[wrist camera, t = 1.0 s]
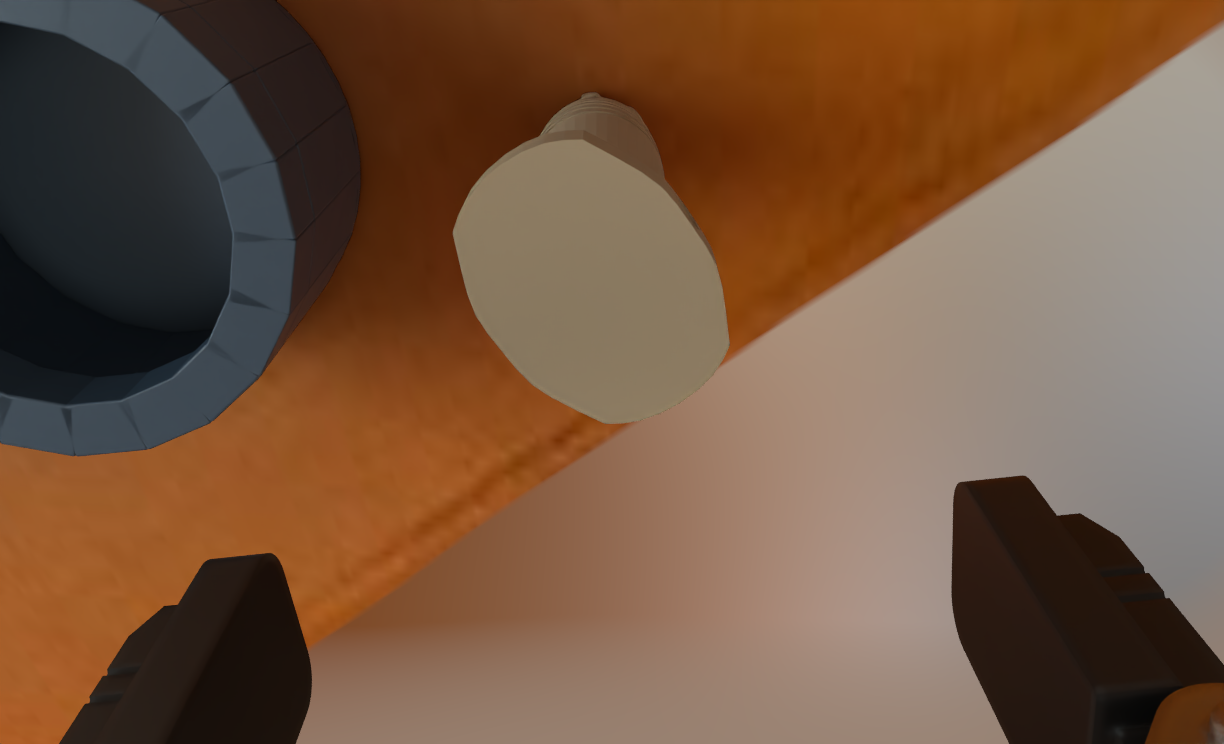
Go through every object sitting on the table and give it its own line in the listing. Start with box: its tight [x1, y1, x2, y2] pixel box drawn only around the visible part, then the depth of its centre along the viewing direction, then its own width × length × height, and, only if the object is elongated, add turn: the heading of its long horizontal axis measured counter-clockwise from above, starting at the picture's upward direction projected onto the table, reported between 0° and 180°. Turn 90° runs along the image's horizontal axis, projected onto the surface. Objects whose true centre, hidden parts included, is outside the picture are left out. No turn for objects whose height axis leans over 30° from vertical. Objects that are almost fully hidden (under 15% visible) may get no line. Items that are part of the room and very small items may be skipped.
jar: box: [0, 0, 361, 456], centre depth 31 cm, size 14×14×8 cm
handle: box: [453, 92, 730, 424], centre depth 28 cm, size 5×6×15 cm
